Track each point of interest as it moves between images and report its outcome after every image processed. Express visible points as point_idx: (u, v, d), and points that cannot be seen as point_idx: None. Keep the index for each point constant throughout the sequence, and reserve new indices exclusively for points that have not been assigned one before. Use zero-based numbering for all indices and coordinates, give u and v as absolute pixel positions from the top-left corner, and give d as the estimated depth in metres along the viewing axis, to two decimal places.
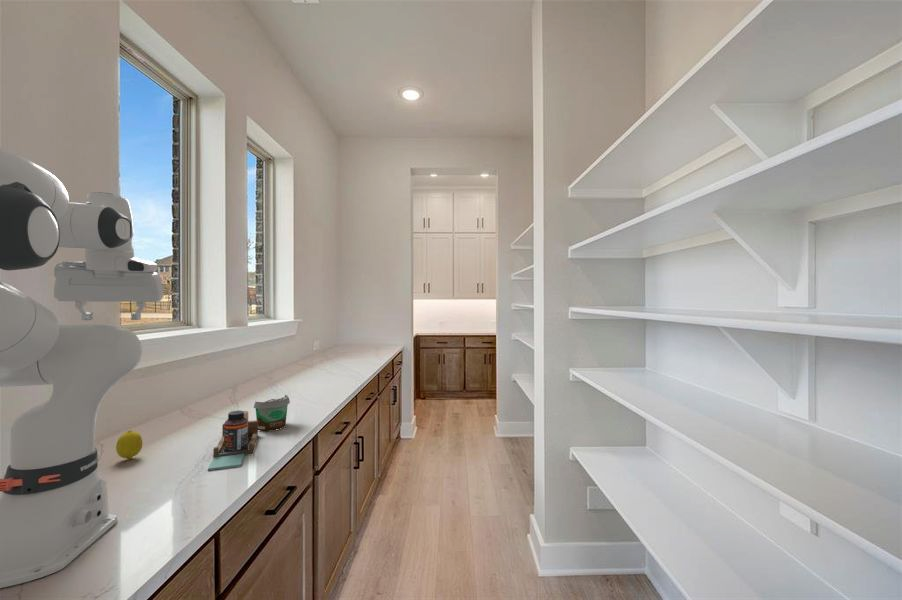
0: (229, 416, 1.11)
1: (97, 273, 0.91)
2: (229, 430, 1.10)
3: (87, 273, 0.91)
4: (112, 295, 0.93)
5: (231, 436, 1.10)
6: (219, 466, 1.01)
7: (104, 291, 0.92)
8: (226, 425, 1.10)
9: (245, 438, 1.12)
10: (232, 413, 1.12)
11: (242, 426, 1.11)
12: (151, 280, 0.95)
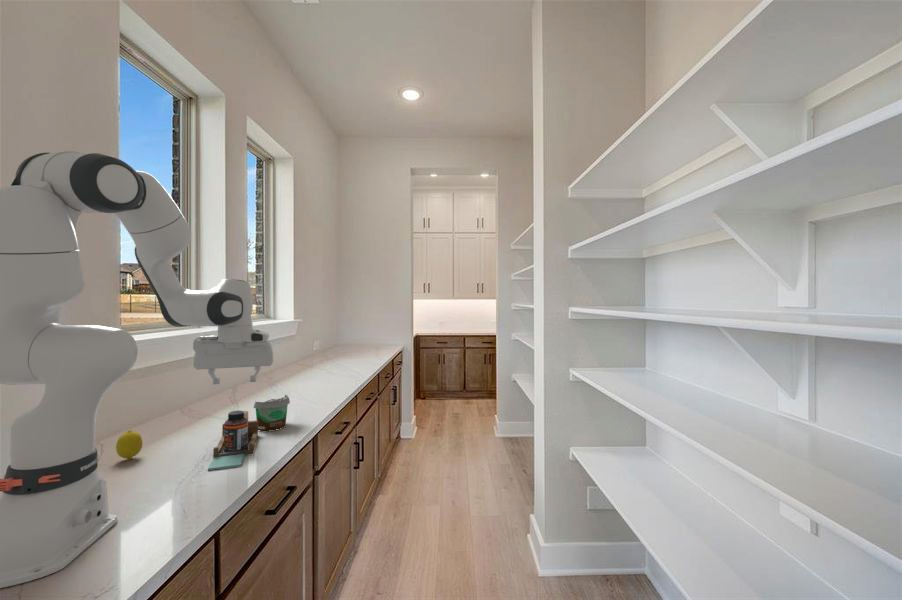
0: (229, 416, 1.11)
1: (227, 345, 1.10)
2: (229, 430, 1.10)
3: (219, 345, 1.10)
4: (237, 362, 1.11)
5: (231, 436, 1.10)
6: (219, 466, 1.01)
7: (231, 359, 1.11)
8: (226, 425, 1.10)
9: (245, 438, 1.12)
10: (232, 413, 1.12)
11: (242, 426, 1.11)
12: (267, 347, 1.14)
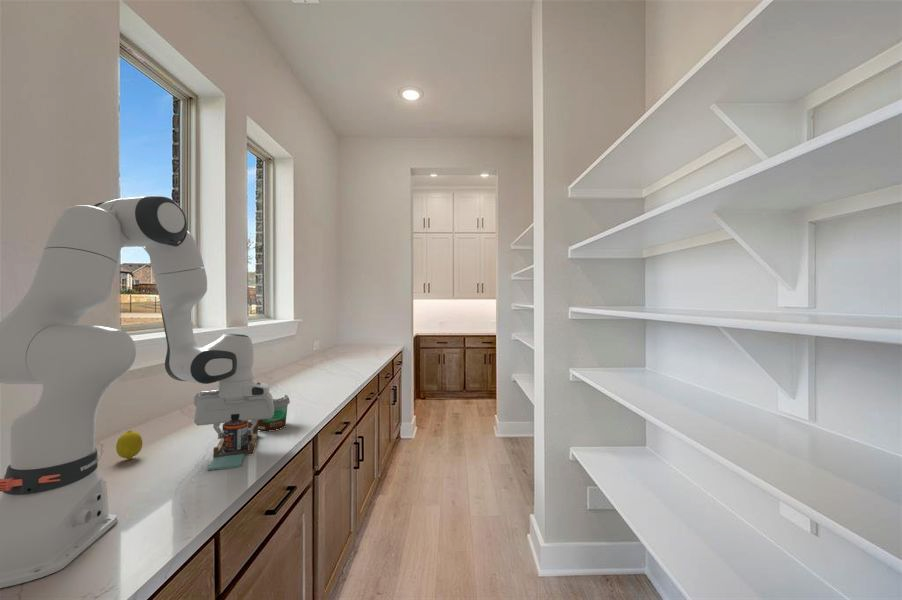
0: None
1: (228, 400, 1.10)
2: (229, 430, 1.10)
3: (220, 400, 1.10)
4: None
5: (231, 436, 1.10)
6: (219, 466, 1.01)
7: (232, 413, 1.11)
8: (226, 425, 1.10)
9: (245, 438, 1.12)
10: None
11: (242, 426, 1.11)
12: (268, 400, 1.14)
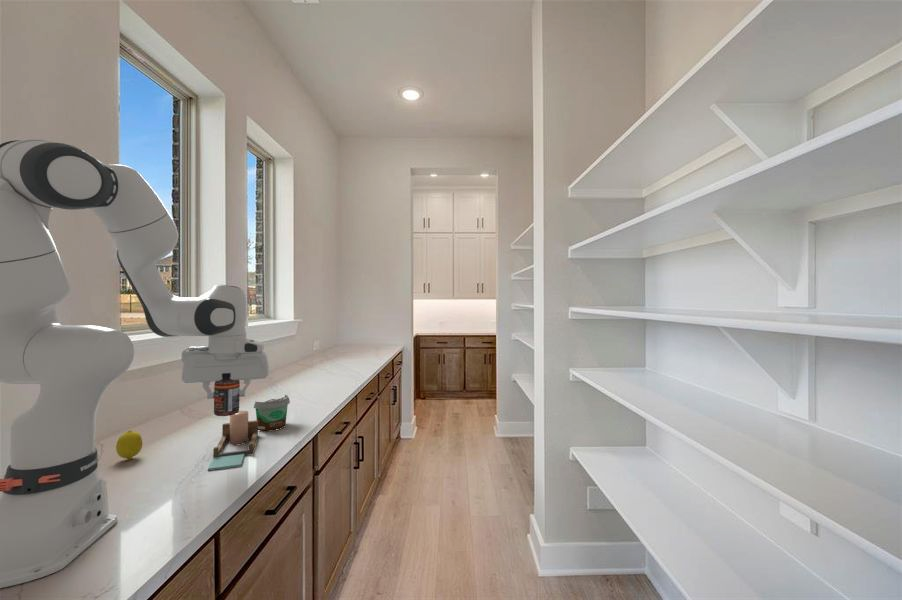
0: None
1: (219, 356, 1.01)
2: (220, 390, 1.01)
3: (210, 356, 1.01)
4: None
5: (221, 396, 1.01)
6: (219, 466, 1.01)
7: (222, 371, 1.02)
8: (216, 385, 1.02)
9: (237, 400, 1.04)
10: None
11: (233, 386, 1.03)
12: (262, 359, 1.05)
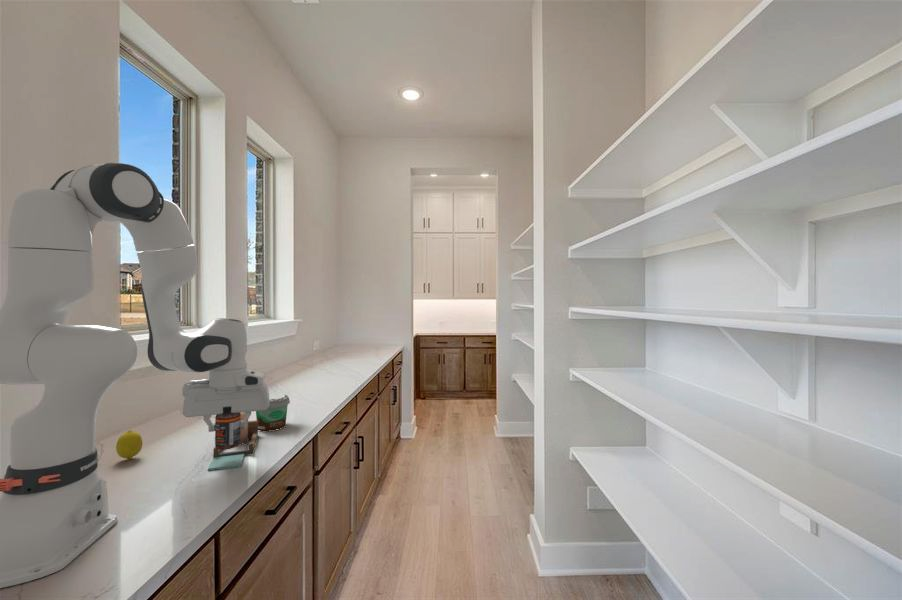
0: None
1: (219, 390, 1.01)
2: (221, 424, 1.02)
3: (210, 390, 1.01)
4: None
5: (222, 430, 1.02)
6: (219, 466, 1.01)
7: (223, 404, 1.02)
8: (217, 418, 1.02)
9: (238, 432, 1.04)
10: None
11: (234, 419, 1.03)
12: (263, 391, 1.05)
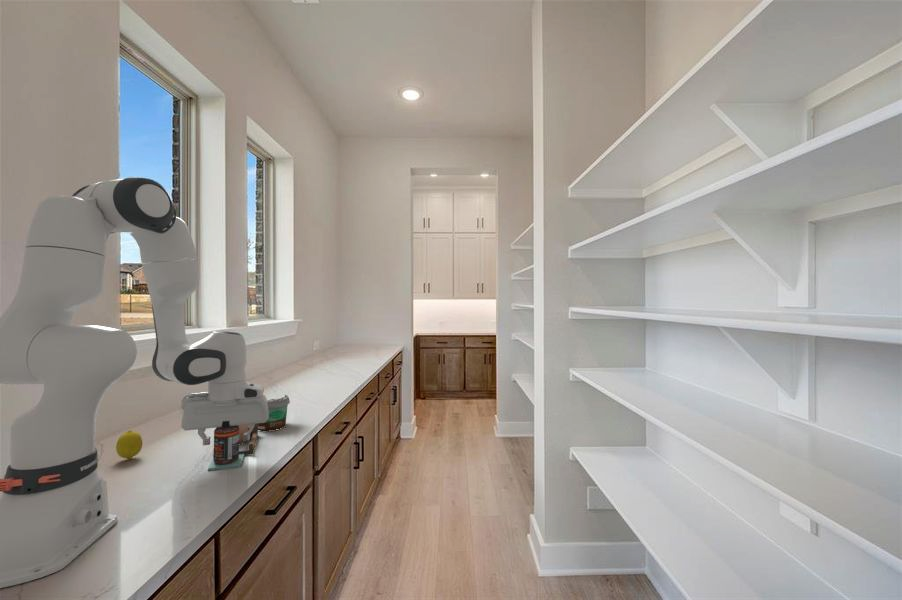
0: None
1: (218, 402, 1.01)
2: (220, 439, 1.01)
3: (209, 403, 1.01)
4: (229, 420, 1.03)
5: (221, 445, 1.01)
6: (219, 466, 1.01)
7: (222, 417, 1.02)
8: (216, 433, 1.02)
9: (237, 447, 1.04)
10: None
11: (233, 434, 1.03)
12: (262, 403, 1.05)
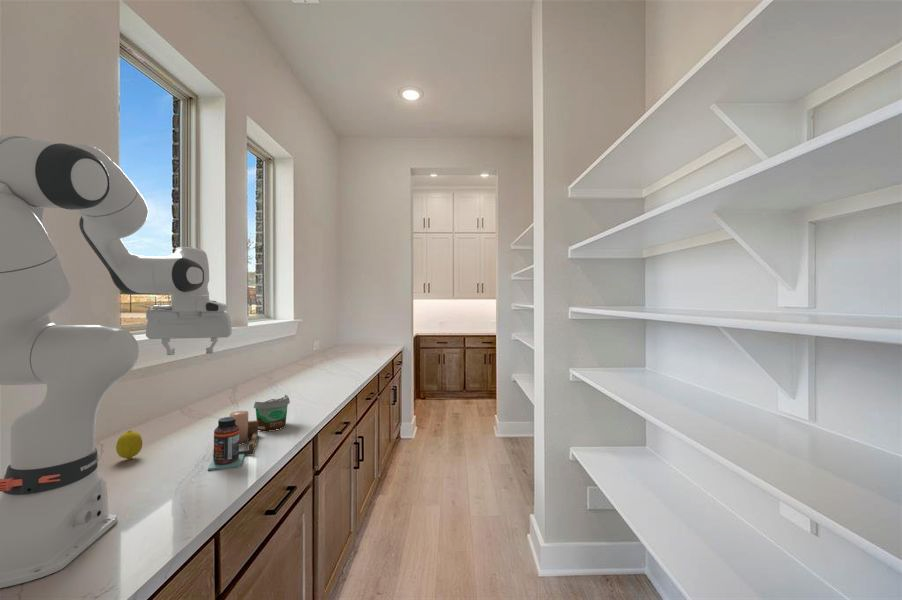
0: (219, 423, 1.03)
1: (181, 314, 1.07)
2: (220, 439, 1.01)
3: (173, 314, 1.07)
4: (191, 332, 1.09)
5: (221, 445, 1.01)
6: (219, 466, 1.01)
7: (185, 329, 1.08)
8: (216, 433, 1.02)
9: (237, 447, 1.04)
10: (222, 419, 1.03)
11: (233, 434, 1.03)
12: (224, 318, 1.11)
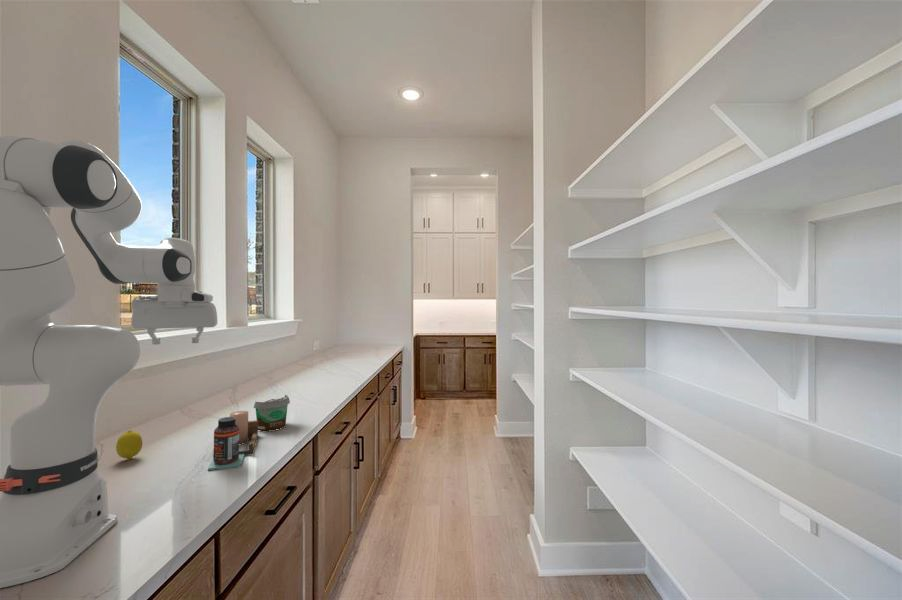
0: (219, 423, 1.03)
1: (167, 304, 1.09)
2: (220, 439, 1.01)
3: (158, 304, 1.09)
4: (177, 322, 1.10)
5: (221, 445, 1.01)
6: (219, 466, 1.01)
7: (171, 319, 1.10)
8: (216, 433, 1.02)
9: (237, 447, 1.04)
10: (222, 419, 1.03)
11: (233, 434, 1.03)
12: (209, 308, 1.13)
